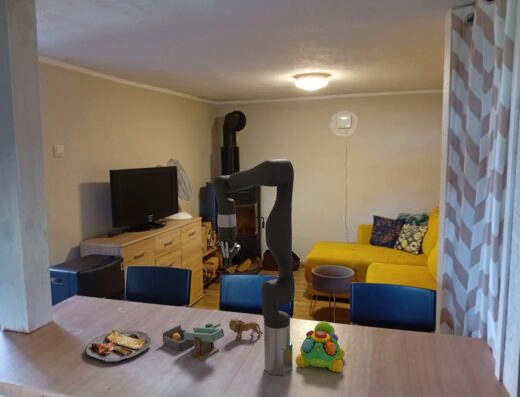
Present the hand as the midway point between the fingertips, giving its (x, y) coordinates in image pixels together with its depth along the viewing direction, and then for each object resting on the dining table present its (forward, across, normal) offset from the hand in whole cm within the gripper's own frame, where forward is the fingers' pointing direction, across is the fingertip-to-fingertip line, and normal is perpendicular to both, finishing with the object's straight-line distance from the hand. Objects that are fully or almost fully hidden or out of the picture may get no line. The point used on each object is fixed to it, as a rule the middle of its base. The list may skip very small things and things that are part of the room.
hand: (228, 266), depth 169 cm
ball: (+29, +15, +16) cm, 36 cm away
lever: (+25, -1, +11) cm, 27 cm away
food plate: (+32, +30, +33) cm, 55 cm away
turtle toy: (+31, -40, -7) cm, 51 cm away
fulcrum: (+31, -1, +16) cm, 35 cm away
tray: (+31, +13, +16) cm, 37 cm away
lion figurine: (+31, -6, -4) cm, 32 cm away
